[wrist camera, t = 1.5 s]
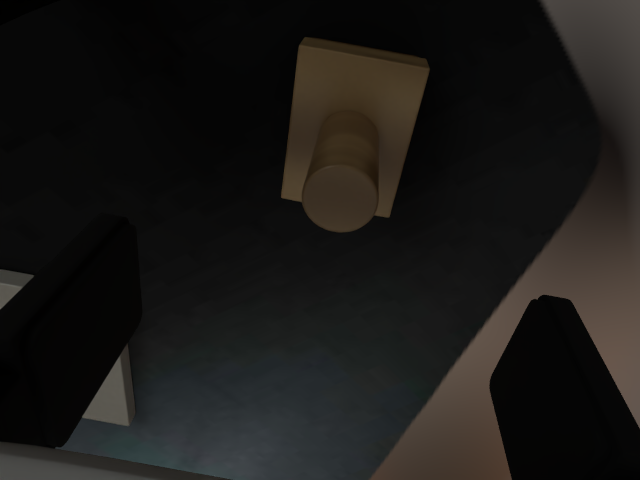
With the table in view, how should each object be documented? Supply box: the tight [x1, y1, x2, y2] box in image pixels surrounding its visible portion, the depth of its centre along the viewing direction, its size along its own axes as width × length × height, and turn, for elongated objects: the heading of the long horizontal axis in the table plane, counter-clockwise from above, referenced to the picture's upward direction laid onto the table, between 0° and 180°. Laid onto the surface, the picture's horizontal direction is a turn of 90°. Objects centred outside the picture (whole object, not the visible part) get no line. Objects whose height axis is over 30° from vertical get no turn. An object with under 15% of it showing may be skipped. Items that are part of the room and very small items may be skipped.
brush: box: [281, 37, 430, 232], centre depth 18 cm, size 6×5×8 cm
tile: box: [0, 269, 136, 426], centre depth 31 cm, size 12×8×1 cm, turn 171°
